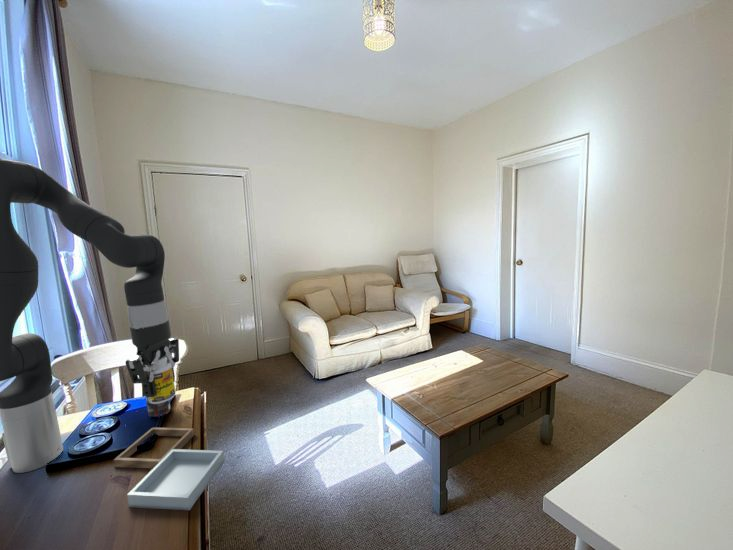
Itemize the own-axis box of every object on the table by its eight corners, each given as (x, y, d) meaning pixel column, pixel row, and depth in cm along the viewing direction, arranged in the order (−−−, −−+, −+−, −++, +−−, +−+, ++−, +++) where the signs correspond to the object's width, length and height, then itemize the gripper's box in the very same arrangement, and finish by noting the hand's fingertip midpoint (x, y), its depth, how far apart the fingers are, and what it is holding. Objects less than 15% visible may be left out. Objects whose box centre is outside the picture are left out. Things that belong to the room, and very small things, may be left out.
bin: (129, 507, 66) (126, 494, 65) (174, 459, 79) (172, 449, 79) (189, 510, 65) (187, 497, 64) (224, 461, 78) (223, 450, 77)
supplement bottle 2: (175, 408, 102) (170, 376, 101) (161, 419, 97) (156, 385, 95) (159, 407, 103) (154, 375, 101) (144, 418, 97) (138, 385, 96)
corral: (114, 466, 77) (113, 459, 77) (153, 433, 90) (152, 427, 89) (161, 468, 76) (160, 461, 76) (194, 434, 89) (193, 428, 88)
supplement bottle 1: (151, 408, 71) (144, 365, 69) (146, 399, 75) (139, 359, 73) (179, 397, 75) (172, 357, 73) (172, 390, 79) (166, 352, 77)
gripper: (157, 313, 79) (167, 375, 82) (106, 332, 65) (120, 406, 68) (184, 312, 79) (194, 374, 81) (140, 331, 64) (153, 406, 67)
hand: (160, 388), depth 74 cm, fingers closed on supplement bottle 1, 5 cm apart
